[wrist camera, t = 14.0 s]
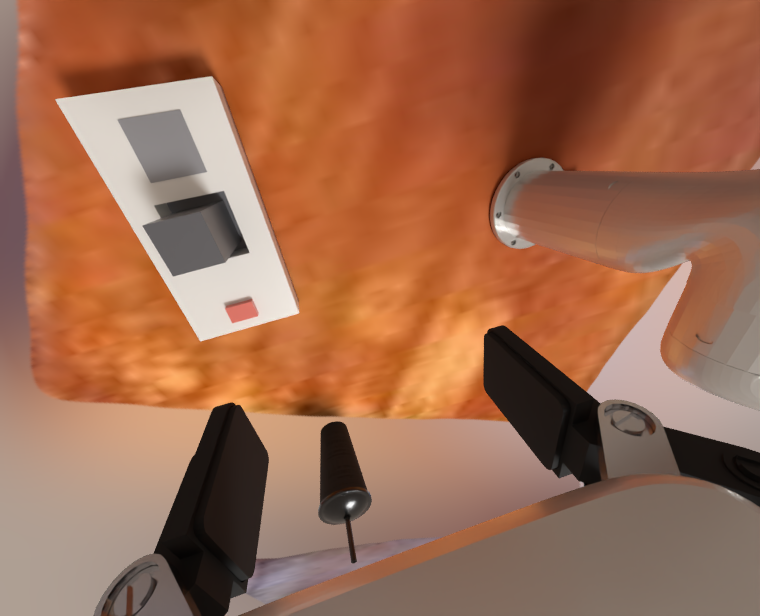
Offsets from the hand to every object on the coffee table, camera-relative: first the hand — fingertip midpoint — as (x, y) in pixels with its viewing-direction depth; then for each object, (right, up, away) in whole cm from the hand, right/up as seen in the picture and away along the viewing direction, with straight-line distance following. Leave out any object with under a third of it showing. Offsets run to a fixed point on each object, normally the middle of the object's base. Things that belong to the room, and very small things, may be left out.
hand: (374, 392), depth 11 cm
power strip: (-19, +13, +22) cm, 32 cm away
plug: (-19, +12, +21) cm, 31 cm away
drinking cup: (-8, -19, +42) cm, 47 cm away
